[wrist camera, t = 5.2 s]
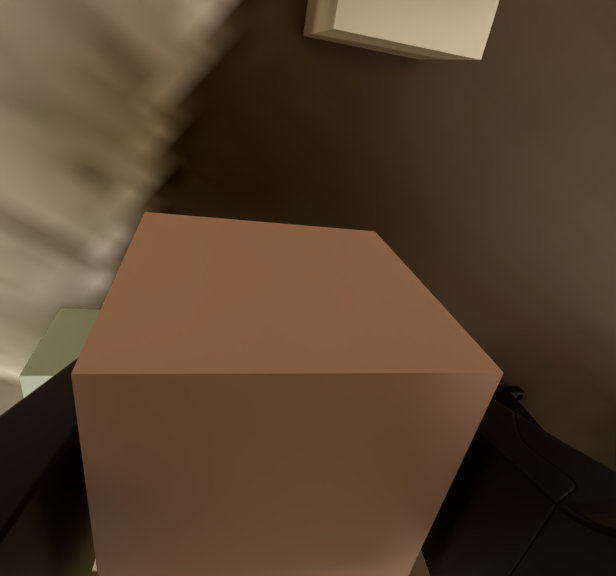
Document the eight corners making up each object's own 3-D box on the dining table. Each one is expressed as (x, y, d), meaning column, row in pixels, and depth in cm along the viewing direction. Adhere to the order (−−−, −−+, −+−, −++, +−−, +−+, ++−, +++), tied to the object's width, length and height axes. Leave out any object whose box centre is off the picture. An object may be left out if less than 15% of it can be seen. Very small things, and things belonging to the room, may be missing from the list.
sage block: (169, 386, 24) (159, 459, 19) (71, 387, 22) (37, 465, 18) (170, 310, 21) (158, 375, 17) (60, 307, 20) (19, 376, 16)
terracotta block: (334, 395, 12) (402, 587, 8) (149, 398, 11) (104, 628, 6) (375, 231, 10) (503, 373, 5) (145, 211, 8) (70, 374, 4)
